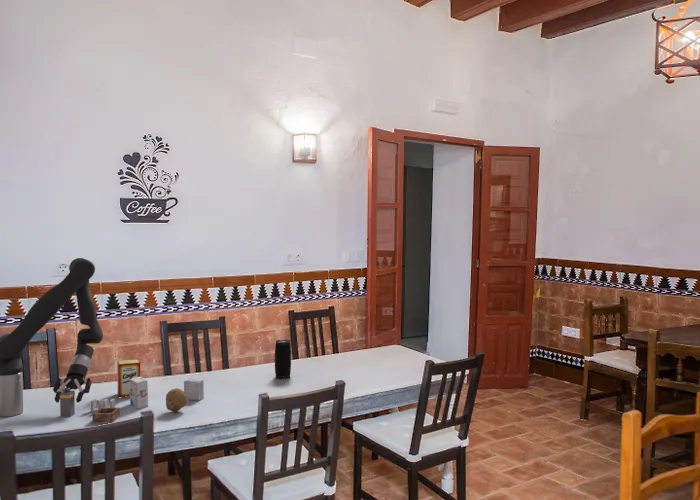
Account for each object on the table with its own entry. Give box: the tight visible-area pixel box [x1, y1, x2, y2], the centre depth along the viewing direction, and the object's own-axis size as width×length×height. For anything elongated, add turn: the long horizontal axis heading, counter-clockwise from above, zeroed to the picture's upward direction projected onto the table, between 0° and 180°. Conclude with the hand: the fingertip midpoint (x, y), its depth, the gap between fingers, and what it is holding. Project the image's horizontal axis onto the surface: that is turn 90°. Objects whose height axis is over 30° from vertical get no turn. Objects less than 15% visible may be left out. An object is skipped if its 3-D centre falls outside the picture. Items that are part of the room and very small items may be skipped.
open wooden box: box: [92, 407, 121, 424], centre depth 225 cm, size 8×8×4 cm
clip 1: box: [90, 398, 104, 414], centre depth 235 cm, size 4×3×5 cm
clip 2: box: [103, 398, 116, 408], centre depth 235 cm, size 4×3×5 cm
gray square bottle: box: [59, 387, 76, 418], centre depth 229 cm, size 4×4×12 cm
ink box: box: [129, 376, 149, 409], centre depth 243 cm, size 9×5×12 cm, turn 45°
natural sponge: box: [165, 387, 189, 413], centre depth 235 cm, size 9×9×10 cm
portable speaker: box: [274, 339, 292, 379], centre depth 292 cm, size 9×9×20 cm
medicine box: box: [183, 378, 205, 401], centre depth 253 cm, size 8×4×9 cm, turn 74°
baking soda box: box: [116, 359, 141, 398], centre depth 259 cm, size 10×6×16 cm
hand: (67, 401), depth 229 cm, fingers open, 8 cm apart
